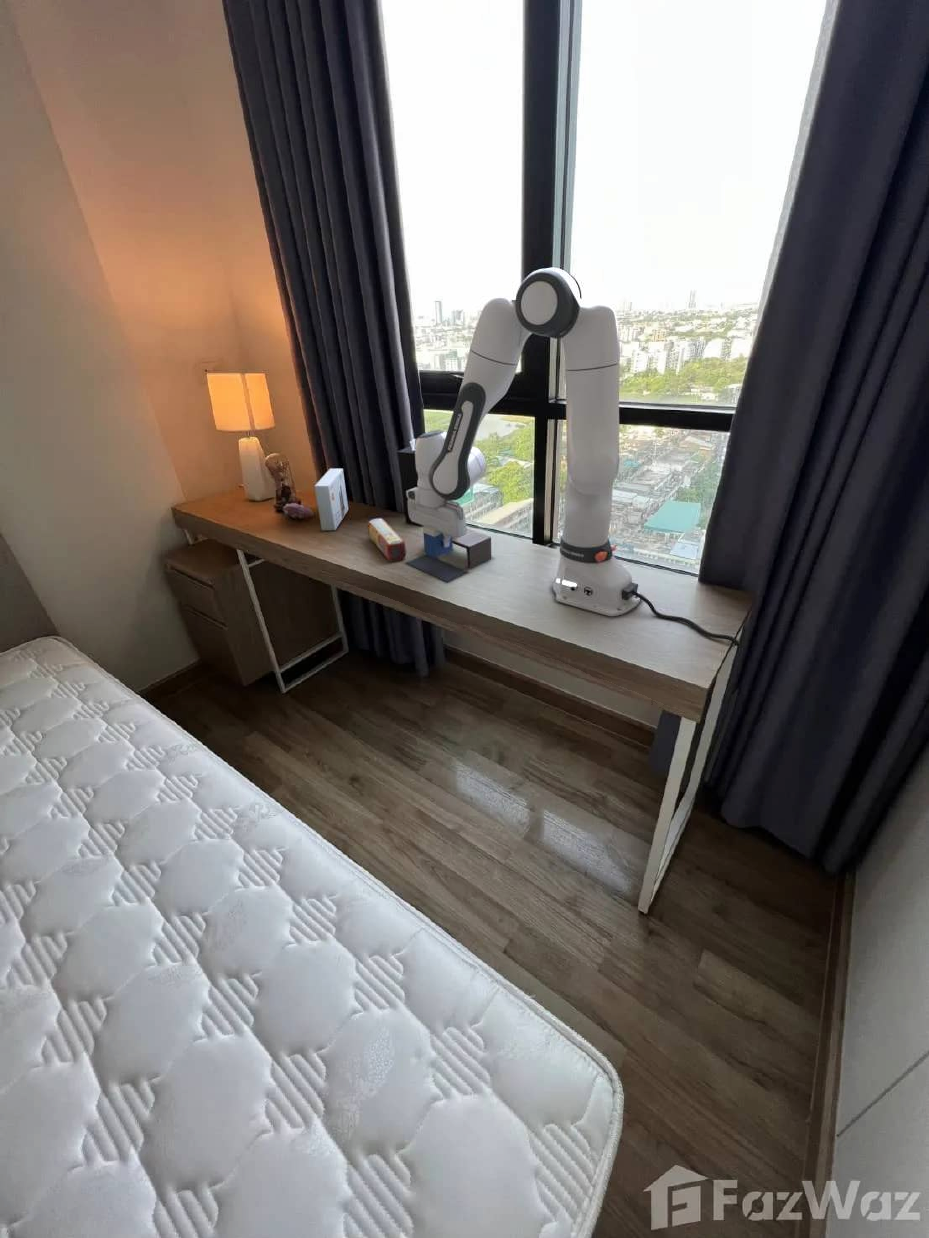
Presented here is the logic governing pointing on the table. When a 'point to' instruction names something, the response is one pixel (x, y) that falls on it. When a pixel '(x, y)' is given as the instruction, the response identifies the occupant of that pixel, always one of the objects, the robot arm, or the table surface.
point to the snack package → (386, 539)
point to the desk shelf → (475, 547)
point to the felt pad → (437, 568)
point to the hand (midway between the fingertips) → (438, 543)
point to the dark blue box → (435, 542)
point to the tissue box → (408, 475)
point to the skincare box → (331, 499)
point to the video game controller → (297, 510)
